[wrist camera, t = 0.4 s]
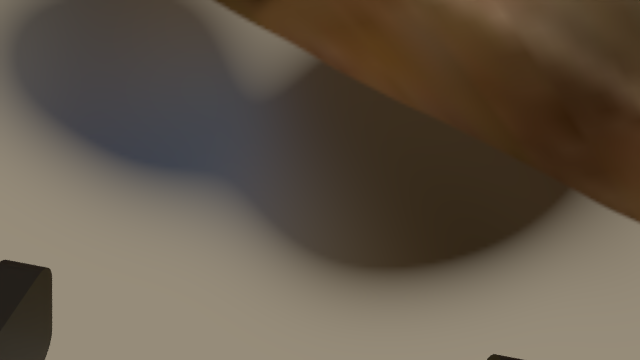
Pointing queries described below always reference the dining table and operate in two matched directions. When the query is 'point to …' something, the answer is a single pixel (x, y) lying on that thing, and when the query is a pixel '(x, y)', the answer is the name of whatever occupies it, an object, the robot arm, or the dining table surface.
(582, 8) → the dining table surface
